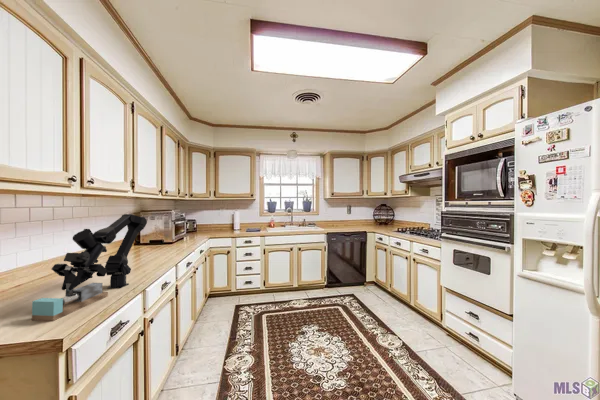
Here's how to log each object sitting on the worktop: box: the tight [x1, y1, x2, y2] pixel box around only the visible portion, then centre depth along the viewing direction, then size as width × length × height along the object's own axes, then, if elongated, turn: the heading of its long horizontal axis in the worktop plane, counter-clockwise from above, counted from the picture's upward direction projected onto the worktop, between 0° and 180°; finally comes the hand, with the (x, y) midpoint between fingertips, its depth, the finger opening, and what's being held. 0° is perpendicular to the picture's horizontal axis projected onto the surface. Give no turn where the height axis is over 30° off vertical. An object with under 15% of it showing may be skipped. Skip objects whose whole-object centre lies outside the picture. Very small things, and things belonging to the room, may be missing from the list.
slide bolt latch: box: [31, 282, 109, 322], centre depth 99 cm, size 24×8×6 cm, turn 178°
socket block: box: [31, 297, 63, 316], centre depth 89 cm, size 3×8×5 cm, turn 87°
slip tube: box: [62, 282, 81, 305], centre depth 100 cm, size 13×3×8 cm, turn 178°
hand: (66, 289), depth 96 cm, fingers closed on slip tube, 2 cm apart
